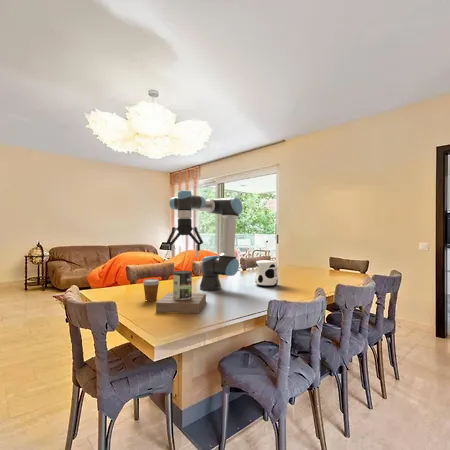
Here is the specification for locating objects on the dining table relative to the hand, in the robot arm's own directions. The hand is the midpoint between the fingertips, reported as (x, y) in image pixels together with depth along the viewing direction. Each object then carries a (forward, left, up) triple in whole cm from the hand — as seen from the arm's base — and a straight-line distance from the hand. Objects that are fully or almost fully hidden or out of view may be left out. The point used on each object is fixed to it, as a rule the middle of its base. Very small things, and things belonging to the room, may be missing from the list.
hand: (184, 256), depth 155 cm
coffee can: (+2, -1, -22) cm, 22 cm away
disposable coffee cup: (-9, -23, -27) cm, 37 cm away
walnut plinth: (+2, -1, -27) cm, 27 cm away
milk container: (-60, +47, -27) cm, 81 cm away
